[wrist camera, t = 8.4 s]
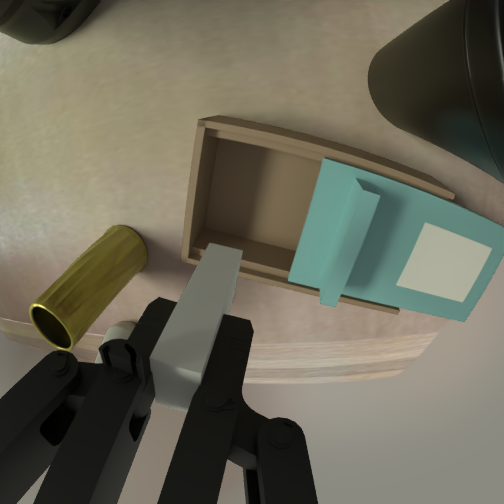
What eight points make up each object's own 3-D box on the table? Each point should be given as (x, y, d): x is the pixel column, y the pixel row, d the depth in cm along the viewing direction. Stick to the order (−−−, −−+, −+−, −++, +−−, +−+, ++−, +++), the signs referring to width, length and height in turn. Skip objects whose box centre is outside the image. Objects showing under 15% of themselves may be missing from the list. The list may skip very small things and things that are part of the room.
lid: (323, 156, 20) (327, 167, 17) (510, 229, 19) (531, 248, 16) (288, 276, 25) (285, 303, 22) (462, 317, 25) (474, 342, 21)
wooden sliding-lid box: (217, 115, 24) (198, 119, 20) (431, 176, 23) (455, 194, 19) (199, 235, 30) (180, 261, 26) (386, 282, 29) (397, 314, 25)
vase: (154, 240, 31) (78, 327, 19) (141, 280, 34) (77, 366, 22) (109, 215, 31) (22, 286, 18) (100, 256, 34) (28, 330, 21)
